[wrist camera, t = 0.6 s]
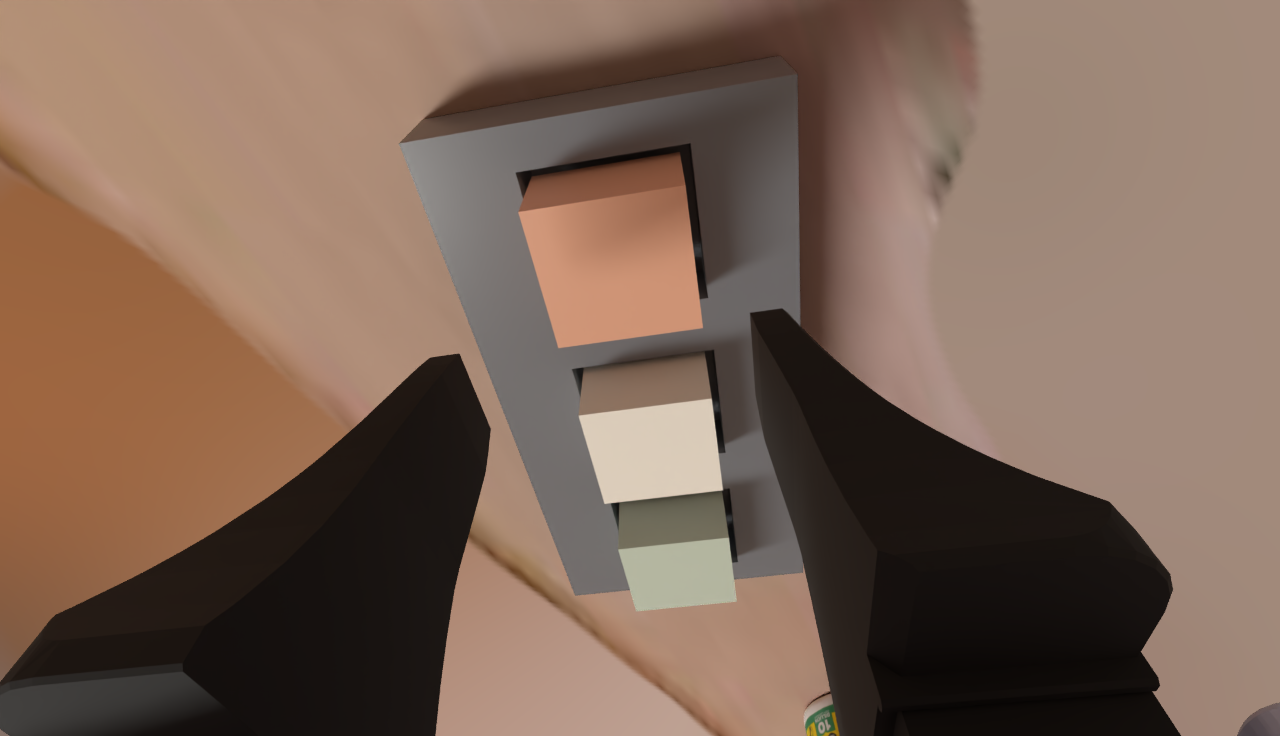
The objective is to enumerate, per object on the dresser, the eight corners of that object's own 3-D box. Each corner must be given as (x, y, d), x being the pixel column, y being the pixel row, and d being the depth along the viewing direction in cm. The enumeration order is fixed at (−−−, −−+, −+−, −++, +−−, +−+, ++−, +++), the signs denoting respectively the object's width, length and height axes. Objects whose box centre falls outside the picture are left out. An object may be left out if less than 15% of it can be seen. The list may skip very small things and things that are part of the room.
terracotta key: (696, 284, 19) (703, 327, 17) (566, 303, 19) (558, 348, 17) (679, 151, 16) (685, 185, 14) (531, 176, 17) (517, 211, 15)
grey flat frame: (792, 530, 28) (802, 572, 27) (578, 554, 29) (575, 595, 28) (780, 55, 17) (797, 73, 15) (422, 119, 18) (398, 143, 16)
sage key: (729, 550, 26) (736, 601, 24) (636, 560, 27) (636, 611, 25) (721, 486, 24) (728, 537, 22) (619, 498, 24) (618, 549, 22)
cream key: (715, 440, 23) (723, 490, 21) (607, 453, 23) (604, 503, 21) (704, 351, 20) (711, 398, 18) (584, 367, 21) (578, 415, 19)
